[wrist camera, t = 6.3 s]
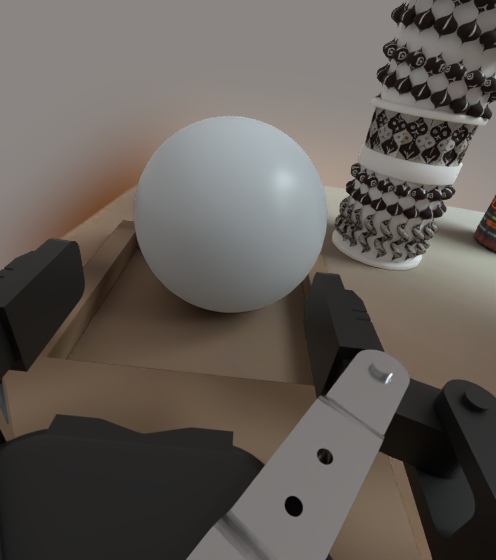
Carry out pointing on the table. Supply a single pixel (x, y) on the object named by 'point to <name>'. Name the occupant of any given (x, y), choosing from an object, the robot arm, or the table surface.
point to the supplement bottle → (488, 228)
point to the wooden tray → (194, 407)
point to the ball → (230, 214)
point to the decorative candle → (419, 130)
